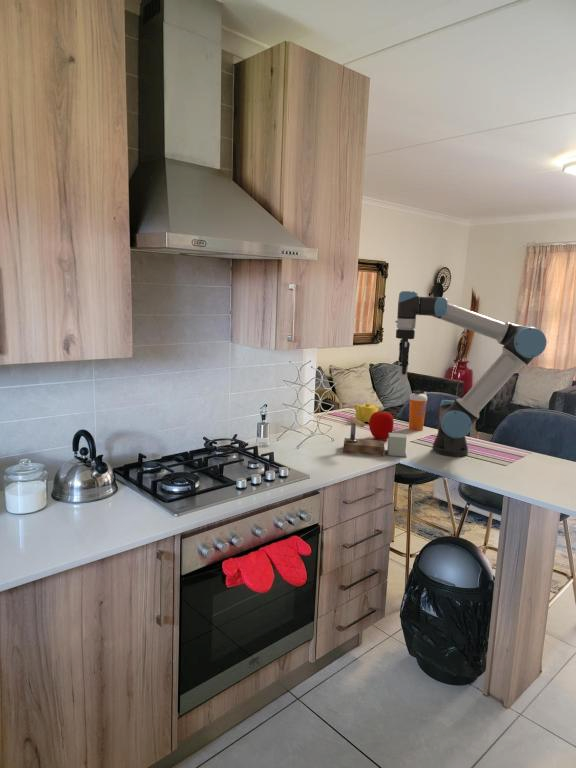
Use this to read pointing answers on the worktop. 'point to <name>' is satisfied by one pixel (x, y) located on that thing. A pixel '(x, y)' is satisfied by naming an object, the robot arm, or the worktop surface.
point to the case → (364, 447)
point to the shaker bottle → (417, 410)
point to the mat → (393, 455)
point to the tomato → (381, 424)
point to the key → (353, 427)
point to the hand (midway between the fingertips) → (401, 379)
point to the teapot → (365, 412)
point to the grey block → (396, 444)
